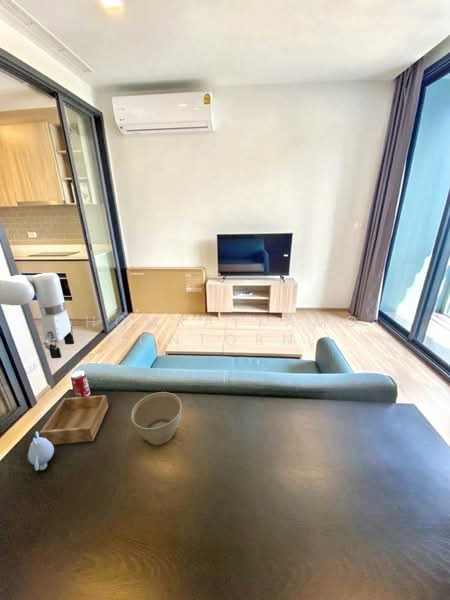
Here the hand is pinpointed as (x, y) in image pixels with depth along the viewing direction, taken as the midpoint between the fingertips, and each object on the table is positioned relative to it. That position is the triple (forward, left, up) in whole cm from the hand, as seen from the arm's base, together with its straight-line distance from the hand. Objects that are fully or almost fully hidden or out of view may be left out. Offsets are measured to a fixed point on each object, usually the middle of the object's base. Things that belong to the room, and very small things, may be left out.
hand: (63, 350), depth 94 cm
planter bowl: (+36, -20, -24) cm, 48 cm away
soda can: (+2, +1, -24) cm, 24 cm away
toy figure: (+3, -28, -24) cm, 36 cm away
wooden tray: (+6, -13, -23) cm, 27 cm away
